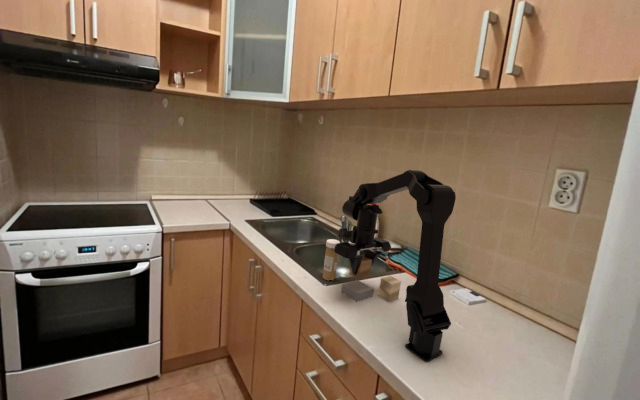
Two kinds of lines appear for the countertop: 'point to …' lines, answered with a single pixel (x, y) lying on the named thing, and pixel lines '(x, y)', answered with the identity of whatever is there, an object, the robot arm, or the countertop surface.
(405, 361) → the countertop surface
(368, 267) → the walnut block
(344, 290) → the tile block
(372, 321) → the countertop surface
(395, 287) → the maple block
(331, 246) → the sprinkles bottle
